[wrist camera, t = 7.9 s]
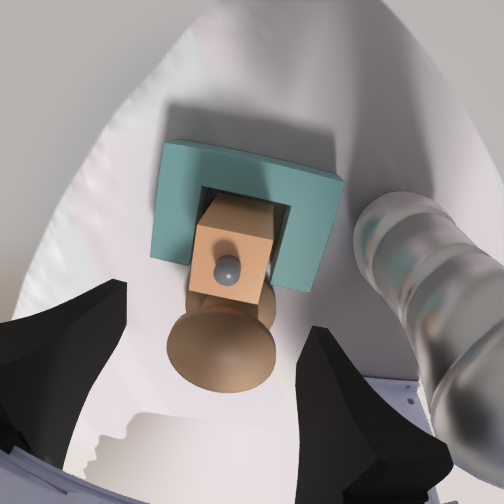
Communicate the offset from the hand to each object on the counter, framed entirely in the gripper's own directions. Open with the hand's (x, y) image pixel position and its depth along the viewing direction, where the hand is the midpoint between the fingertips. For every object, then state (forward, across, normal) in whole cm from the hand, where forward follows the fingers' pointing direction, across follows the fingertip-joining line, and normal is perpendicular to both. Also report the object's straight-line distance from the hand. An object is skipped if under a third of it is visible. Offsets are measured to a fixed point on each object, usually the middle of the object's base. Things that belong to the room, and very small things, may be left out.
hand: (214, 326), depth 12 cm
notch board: (+10, 0, -2) cm, 10 cm away
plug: (+10, 0, -1) cm, 10 cm away
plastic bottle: (+10, -10, -3) cm, 14 cm away
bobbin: (+10, 0, +6) cm, 11 cm away
